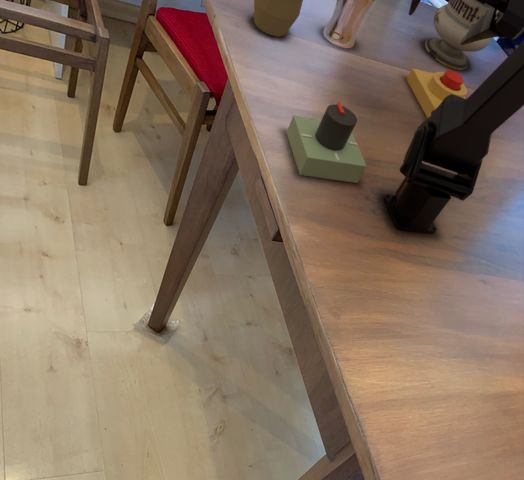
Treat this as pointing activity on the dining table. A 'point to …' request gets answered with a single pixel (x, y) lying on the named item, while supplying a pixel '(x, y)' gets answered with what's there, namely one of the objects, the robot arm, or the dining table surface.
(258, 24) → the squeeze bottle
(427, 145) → the robot arm
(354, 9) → the beer glass
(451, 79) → the button
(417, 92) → the button block
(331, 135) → the knob
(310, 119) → the panel
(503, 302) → the dining table surface
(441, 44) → the apothecary jar
